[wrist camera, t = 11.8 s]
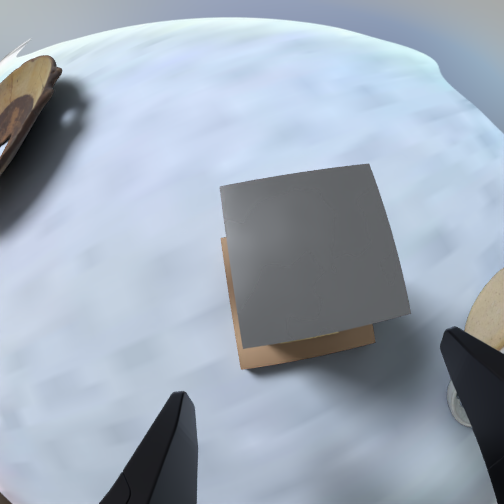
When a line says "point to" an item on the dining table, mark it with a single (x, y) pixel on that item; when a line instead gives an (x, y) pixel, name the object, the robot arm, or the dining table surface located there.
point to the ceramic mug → (483, 331)
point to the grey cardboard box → (311, 255)
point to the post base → (292, 349)
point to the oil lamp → (24, 102)
